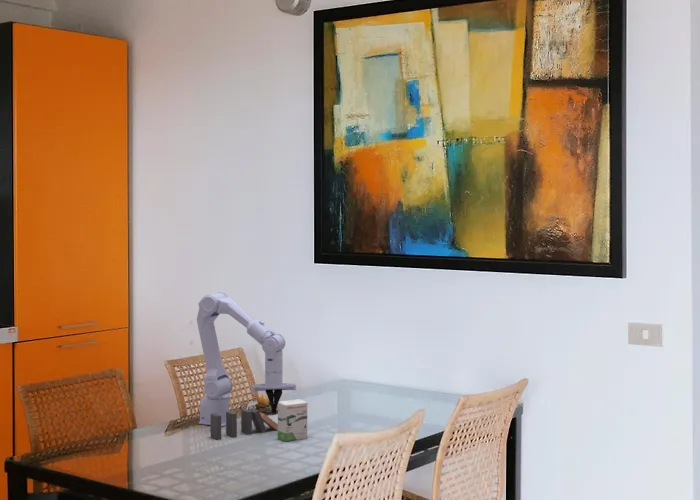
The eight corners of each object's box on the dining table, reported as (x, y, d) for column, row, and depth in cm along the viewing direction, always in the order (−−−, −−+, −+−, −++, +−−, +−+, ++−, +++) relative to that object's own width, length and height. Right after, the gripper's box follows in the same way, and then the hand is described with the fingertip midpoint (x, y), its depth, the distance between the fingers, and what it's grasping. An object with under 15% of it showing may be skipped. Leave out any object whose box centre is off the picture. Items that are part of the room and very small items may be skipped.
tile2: (262, 432, 306) (254, 412, 304) (256, 429, 310) (248, 410, 308) (266, 430, 307) (258, 410, 305) (260, 427, 310) (252, 407, 308)
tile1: (277, 430, 309) (261, 418, 306) (270, 427, 313) (255, 415, 309) (279, 426, 310) (264, 413, 306) (273, 423, 313) (258, 411, 310)
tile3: (247, 435, 303) (247, 412, 302) (241, 432, 306) (241, 409, 306) (252, 434, 304) (251, 411, 303) (245, 431, 307) (245, 408, 307)
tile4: (232, 437, 300) (232, 414, 299) (226, 434, 303) (226, 411, 303) (236, 436, 301) (236, 413, 300) (230, 433, 304) (230, 410, 304)
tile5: (216, 439, 297) (216, 416, 296) (210, 436, 300) (210, 413, 300) (221, 439, 298) (221, 415, 297) (215, 436, 301) (215, 413, 301)
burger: (287, 411, 338) (287, 390, 337) (267, 417, 328) (267, 396, 327) (261, 407, 344) (261, 387, 344) (240, 413, 334) (240, 392, 334)
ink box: (284, 441, 294) (284, 404, 294) (276, 438, 299) (276, 401, 298) (308, 438, 299) (308, 401, 299) (300, 434, 303) (300, 398, 303)
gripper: (294, 368, 315) (294, 408, 316) (251, 369, 313) (251, 410, 313) (296, 372, 308) (296, 413, 309) (252, 373, 306) (252, 415, 306)
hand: (273, 412), depth 311 cm, fingers closed
